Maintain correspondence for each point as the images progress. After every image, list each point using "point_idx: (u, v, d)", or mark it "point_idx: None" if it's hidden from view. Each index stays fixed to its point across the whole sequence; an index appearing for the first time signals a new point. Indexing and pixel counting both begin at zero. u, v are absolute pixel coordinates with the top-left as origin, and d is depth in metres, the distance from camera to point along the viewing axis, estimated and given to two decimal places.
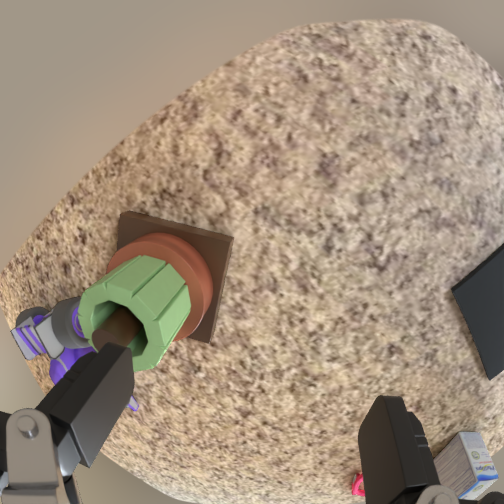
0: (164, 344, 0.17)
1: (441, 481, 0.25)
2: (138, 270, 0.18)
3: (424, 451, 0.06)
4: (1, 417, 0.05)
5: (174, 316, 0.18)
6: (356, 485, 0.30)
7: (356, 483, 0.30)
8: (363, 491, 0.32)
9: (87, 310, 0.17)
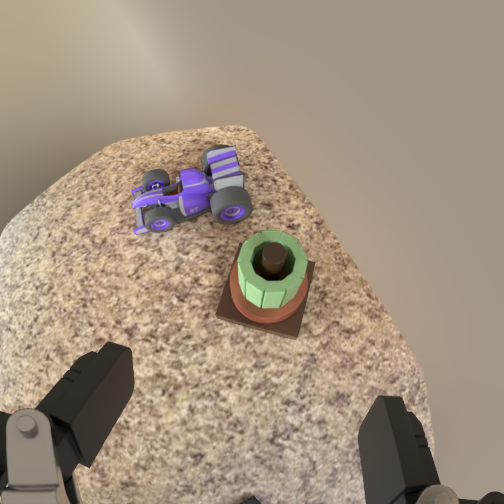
0: (266, 292, 0.26)
1: None
2: None
3: (424, 451, 0.06)
4: (1, 417, 0.05)
5: (273, 299, 0.28)
6: None
7: None
8: None
9: (285, 240, 0.29)
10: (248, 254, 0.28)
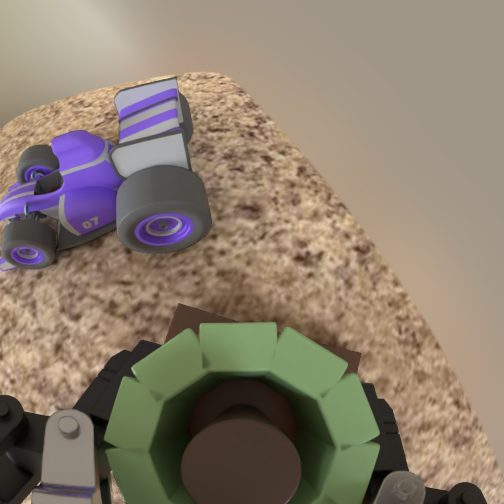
0: None
1: None
2: None
3: (394, 437, 0.07)
4: (36, 419, 0.06)
5: None
6: None
7: None
8: None
9: (298, 367, 0.06)
10: (141, 426, 0.06)
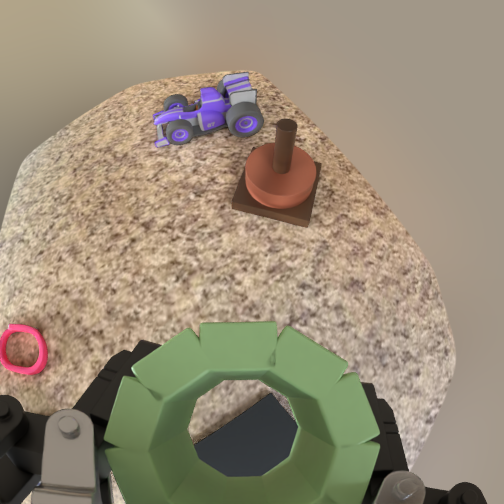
0: None
1: None
2: None
3: (393, 438, 0.07)
4: (36, 419, 0.06)
5: None
6: (25, 327, 0.28)
7: (28, 327, 0.28)
8: (6, 339, 0.28)
9: (299, 367, 0.06)
10: (141, 425, 0.06)
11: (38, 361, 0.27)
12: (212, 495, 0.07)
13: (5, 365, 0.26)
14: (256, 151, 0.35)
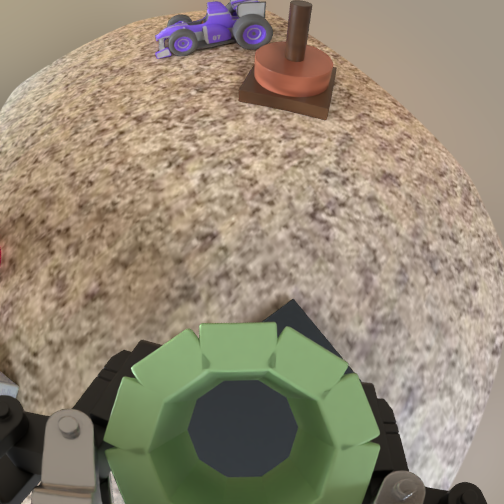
0: None
1: None
2: None
3: (393, 437, 0.07)
4: (36, 419, 0.06)
5: None
6: None
7: None
8: None
9: (299, 368, 0.06)
10: (141, 426, 0.06)
11: None
12: (212, 495, 0.07)
13: None
14: (266, 46, 0.28)
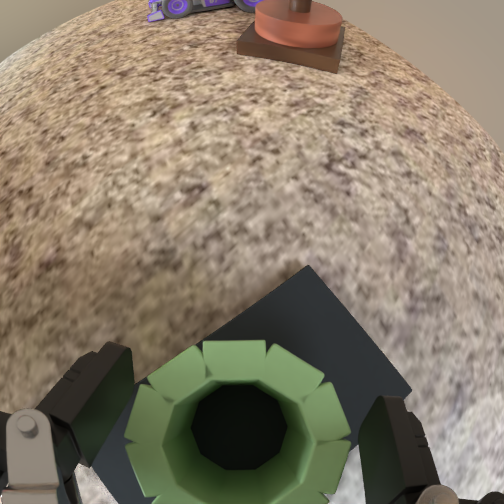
0: None
1: None
2: None
3: (424, 451, 0.06)
4: (1, 417, 0.05)
5: None
6: None
7: None
8: None
9: (283, 377, 0.08)
10: (155, 424, 0.07)
11: None
12: (212, 483, 0.08)
13: None
14: (268, 0, 0.23)
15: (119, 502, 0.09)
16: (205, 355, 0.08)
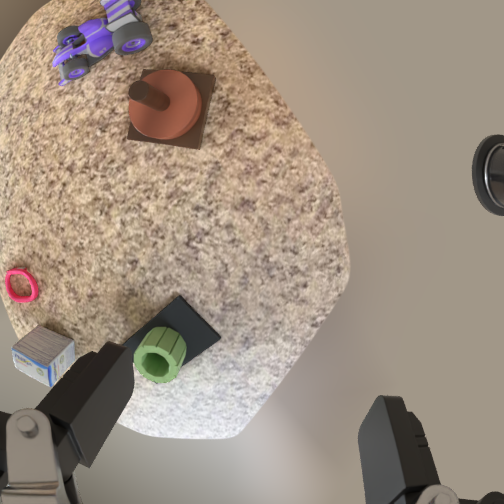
0: None
1: (34, 340, 0.39)
2: (182, 360, 0.40)
3: (424, 451, 0.06)
4: (1, 417, 0.05)
5: None
6: (17, 271, 0.40)
7: (19, 270, 0.40)
8: (9, 280, 0.41)
9: (160, 352, 0.36)
10: (139, 360, 0.37)
11: (33, 292, 0.41)
12: (156, 366, 0.40)
13: (15, 300, 0.41)
14: None
15: None
16: (144, 348, 0.36)
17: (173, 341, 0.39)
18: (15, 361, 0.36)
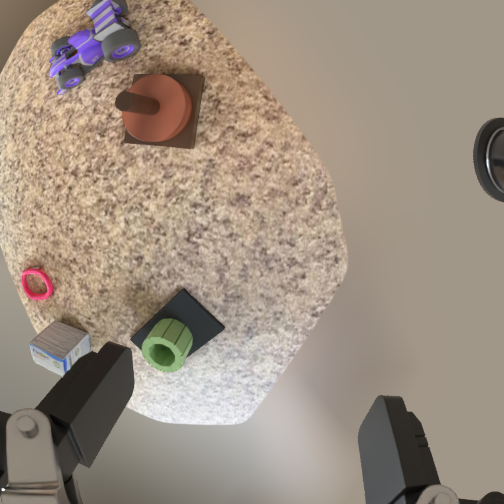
0: (163, 371, 0.41)
1: (51, 335, 0.44)
2: (187, 350, 0.42)
3: (424, 451, 0.06)
4: (1, 417, 0.05)
5: None
6: (31, 271, 0.44)
7: (33, 270, 0.44)
8: (25, 279, 0.46)
9: (166, 343, 0.39)
10: (146, 351, 0.40)
11: (47, 290, 0.45)
12: (164, 356, 0.42)
13: (31, 297, 0.46)
14: None
15: None
16: (151, 340, 0.39)
17: (178, 332, 0.41)
18: (33, 355, 0.41)
